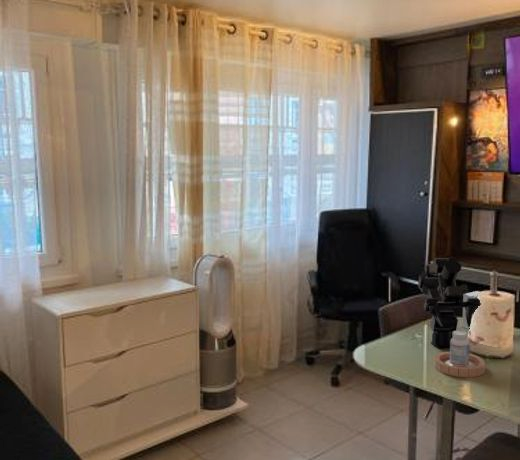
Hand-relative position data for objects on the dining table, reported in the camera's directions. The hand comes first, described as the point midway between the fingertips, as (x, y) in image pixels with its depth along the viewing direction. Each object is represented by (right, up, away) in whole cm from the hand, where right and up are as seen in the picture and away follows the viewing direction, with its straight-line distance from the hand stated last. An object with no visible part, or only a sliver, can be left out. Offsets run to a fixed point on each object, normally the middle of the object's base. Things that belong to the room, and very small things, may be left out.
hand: (455, 326), depth 187 cm
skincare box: (+22, -8, +38) cm, 45 cm away
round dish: (0, -14, -4) cm, 14 cm away
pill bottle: (0, -13, -4) cm, 13 cm away
